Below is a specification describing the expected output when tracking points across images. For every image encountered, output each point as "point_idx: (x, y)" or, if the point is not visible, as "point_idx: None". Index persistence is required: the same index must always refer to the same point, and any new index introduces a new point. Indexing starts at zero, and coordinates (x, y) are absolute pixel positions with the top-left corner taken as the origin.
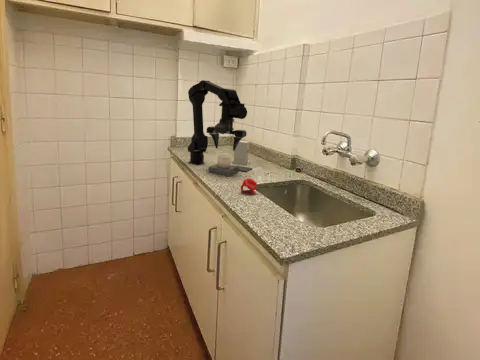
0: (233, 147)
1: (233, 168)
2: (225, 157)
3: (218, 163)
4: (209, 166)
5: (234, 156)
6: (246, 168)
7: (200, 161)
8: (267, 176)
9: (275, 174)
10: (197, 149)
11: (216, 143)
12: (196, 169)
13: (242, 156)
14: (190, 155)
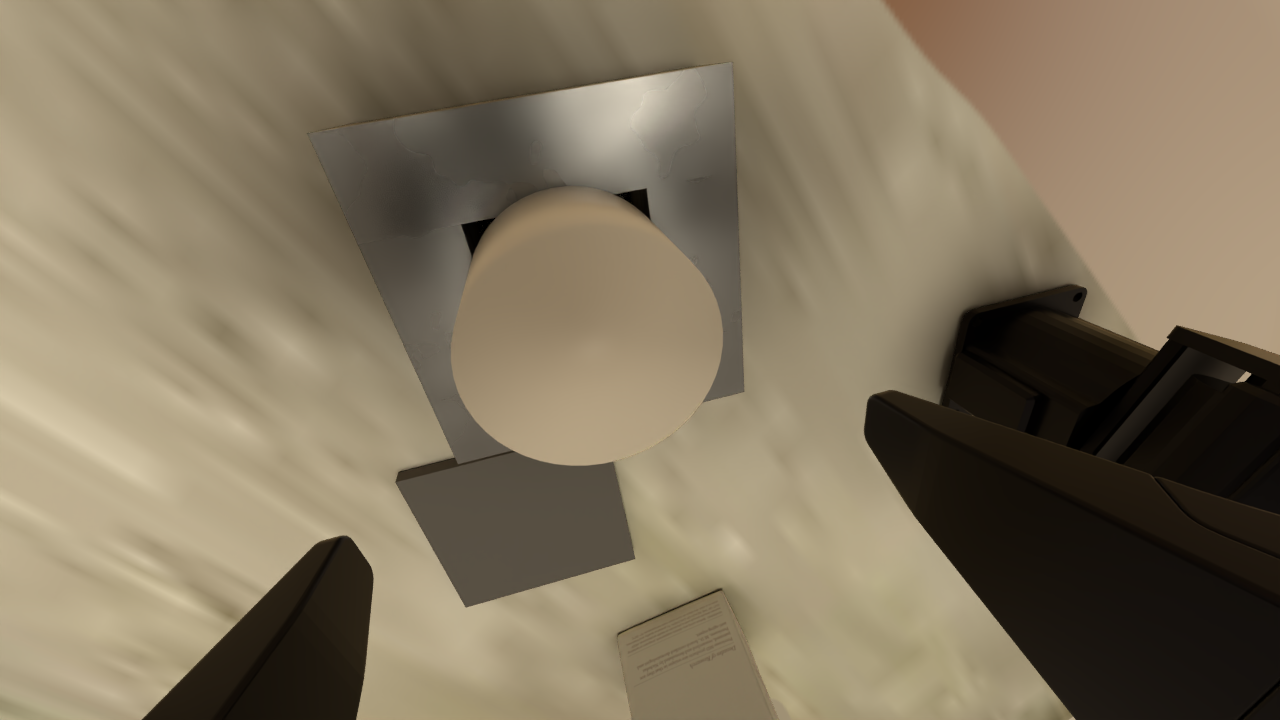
0: (271, 629)
1: (388, 307)
2: (584, 377)
3: (628, 208)
4: (732, 91)
5: (741, 658)
6: (493, 558)
7: (979, 358)
8: (94, 535)
9: (151, 643)
10: (1180, 392)
11: (993, 483)
12: (909, 103)
13: (667, 701)
14: (1149, 347)
